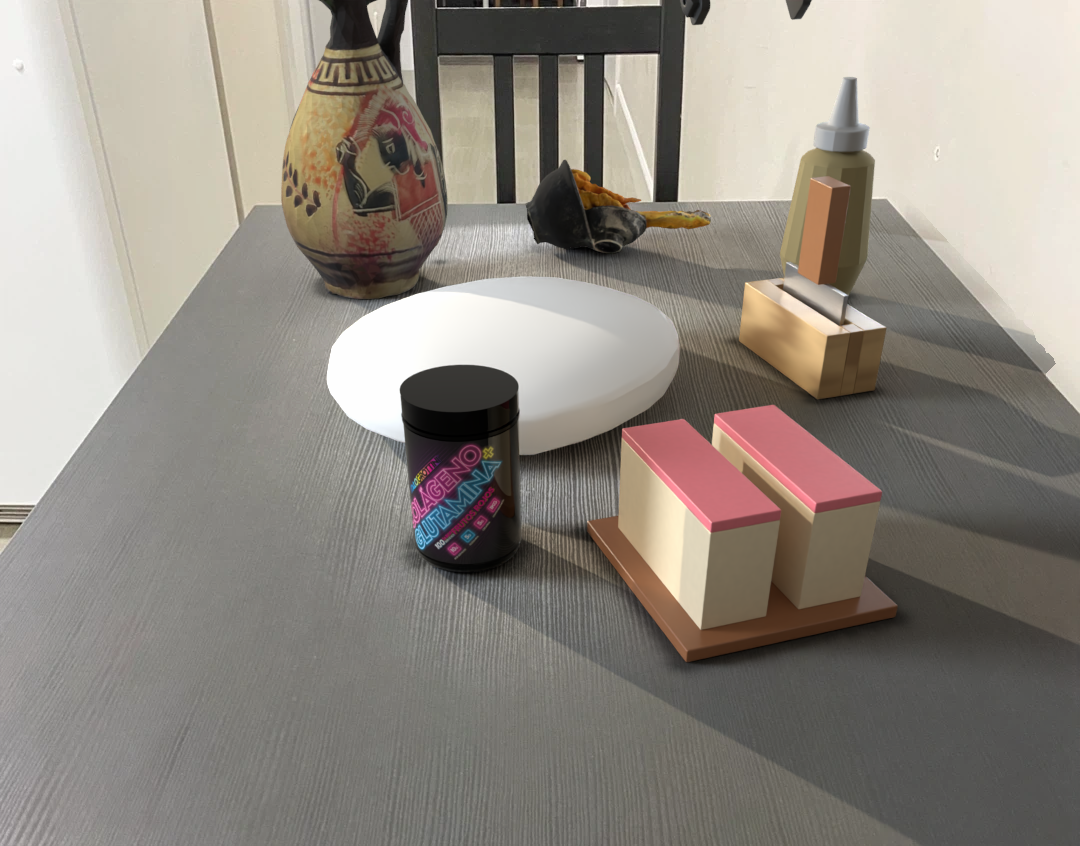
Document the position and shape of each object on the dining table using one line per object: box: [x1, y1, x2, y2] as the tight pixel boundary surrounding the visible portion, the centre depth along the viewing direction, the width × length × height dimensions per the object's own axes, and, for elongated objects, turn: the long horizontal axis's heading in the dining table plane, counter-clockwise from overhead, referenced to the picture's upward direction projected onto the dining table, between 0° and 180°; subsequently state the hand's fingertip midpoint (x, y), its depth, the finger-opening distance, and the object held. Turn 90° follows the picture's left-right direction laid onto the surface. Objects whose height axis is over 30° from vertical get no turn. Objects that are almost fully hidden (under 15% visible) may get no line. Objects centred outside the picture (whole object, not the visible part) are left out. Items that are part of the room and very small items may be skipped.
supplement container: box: [400, 365, 522, 574], centre depth 64 cm, size 7×7×10 cm
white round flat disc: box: [326, 275, 681, 456], centre depth 84 cm, size 28×6×27 cm
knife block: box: [738, 277, 888, 400], centre depth 89 cm, size 13×5×5 cm, turn 19°
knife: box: [783, 176, 851, 326], centre depth 86 cm, size 9×2×14 cm, turn 19°
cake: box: [586, 404, 899, 663], centre depth 63 cm, size 15×13×7 cm
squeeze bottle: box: [779, 76, 876, 297], centre depth 98 cm, size 8×8×18 cm
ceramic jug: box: [280, 0, 449, 300], centre depth 98 cm, size 17×15×30 cm
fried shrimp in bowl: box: [525, 159, 712, 254], centre depth 113 cm, size 9×11×18 cm
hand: (752, 14), depth 83 cm, fingers open, 8 cm apart
